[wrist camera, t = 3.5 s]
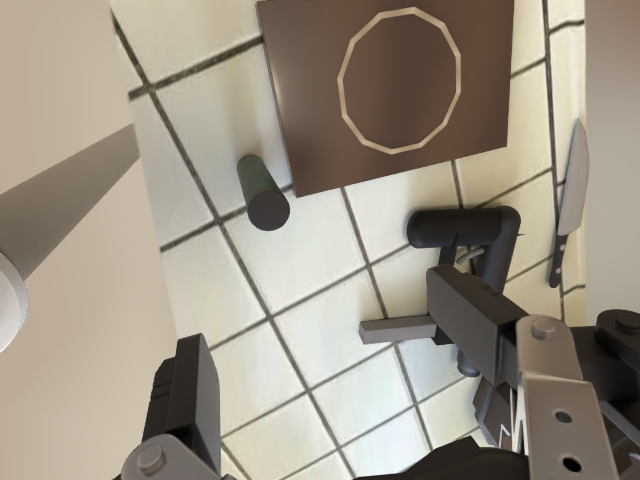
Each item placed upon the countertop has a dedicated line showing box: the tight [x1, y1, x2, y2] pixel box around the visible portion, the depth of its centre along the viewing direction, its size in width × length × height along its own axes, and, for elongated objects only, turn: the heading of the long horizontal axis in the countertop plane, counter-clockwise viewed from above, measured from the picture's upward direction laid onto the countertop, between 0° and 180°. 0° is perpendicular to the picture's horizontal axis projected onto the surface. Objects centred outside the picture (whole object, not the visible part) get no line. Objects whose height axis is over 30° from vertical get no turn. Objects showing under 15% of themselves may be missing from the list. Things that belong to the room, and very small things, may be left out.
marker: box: [237, 155, 290, 231], centre depth 25 cm, size 2×2×11 cm
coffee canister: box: [473, 375, 640, 480], centre depth 43 cm, size 18×18×16 cm
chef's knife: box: [549, 118, 589, 288], centre depth 40 cm, size 19×1×3 cm
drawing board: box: [255, 0, 514, 198], centre depth 30 cm, size 20×14×1 cm
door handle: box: [359, 206, 526, 377], centre depth 39 cm, size 3×20×16 cm
